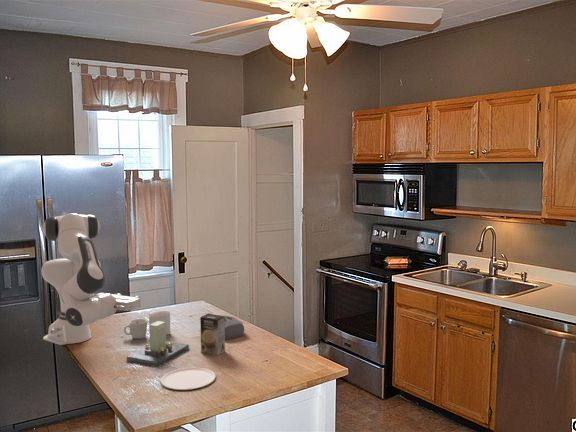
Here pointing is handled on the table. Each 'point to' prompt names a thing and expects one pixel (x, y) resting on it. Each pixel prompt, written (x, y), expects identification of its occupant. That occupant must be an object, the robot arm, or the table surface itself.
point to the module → (157, 335)
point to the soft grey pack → (233, 328)
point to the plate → (188, 378)
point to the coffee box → (212, 334)
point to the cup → (137, 328)
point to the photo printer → (160, 318)
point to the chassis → (157, 354)
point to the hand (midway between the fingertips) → (129, 296)
